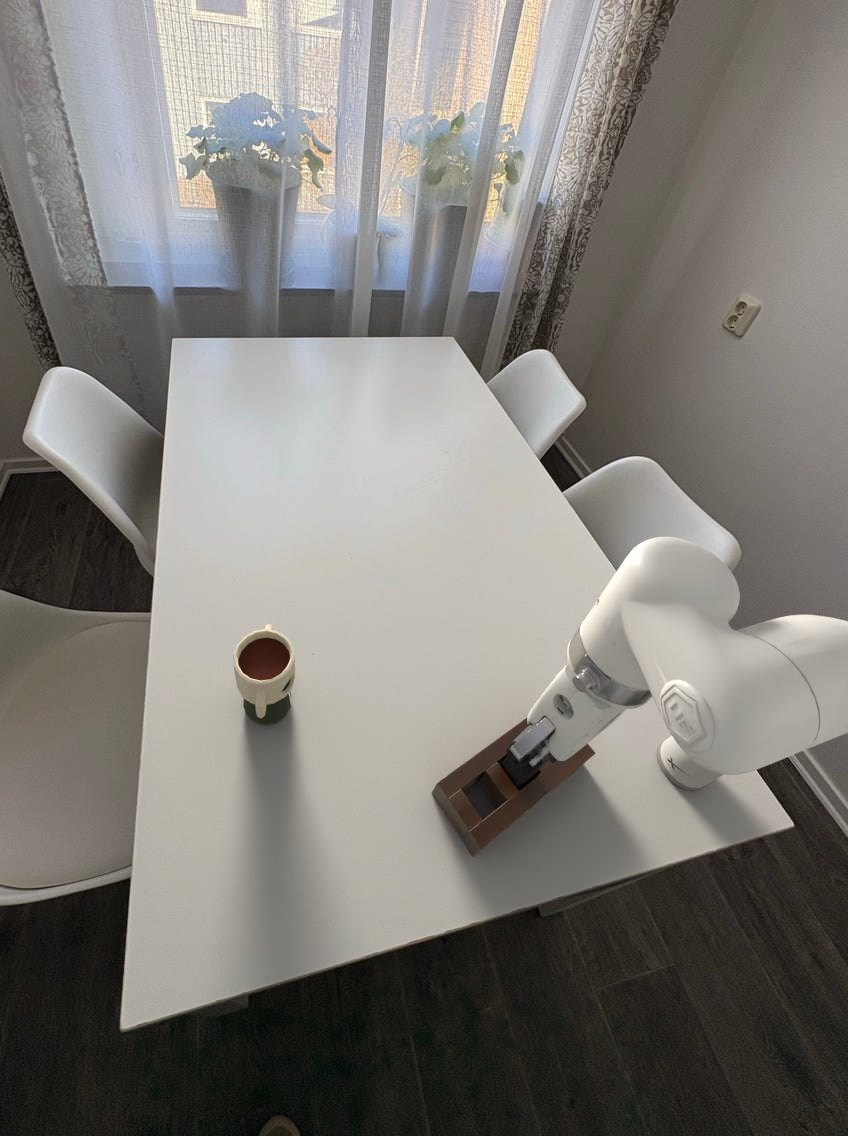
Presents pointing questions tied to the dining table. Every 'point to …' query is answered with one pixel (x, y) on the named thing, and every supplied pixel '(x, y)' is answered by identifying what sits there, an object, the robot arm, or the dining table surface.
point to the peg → (515, 775)
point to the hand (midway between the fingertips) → (550, 739)
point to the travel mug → (682, 767)
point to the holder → (498, 790)
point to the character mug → (265, 674)
